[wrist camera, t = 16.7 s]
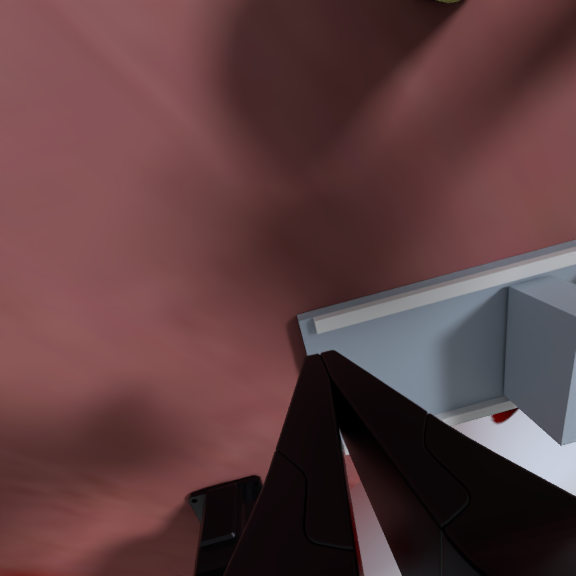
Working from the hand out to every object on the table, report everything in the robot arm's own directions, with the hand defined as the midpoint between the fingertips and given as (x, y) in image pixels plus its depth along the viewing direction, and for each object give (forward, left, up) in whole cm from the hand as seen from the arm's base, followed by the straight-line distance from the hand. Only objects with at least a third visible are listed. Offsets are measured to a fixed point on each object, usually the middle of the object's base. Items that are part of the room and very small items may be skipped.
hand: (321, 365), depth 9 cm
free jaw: (-11, -17, -11) cm, 23 cm away
